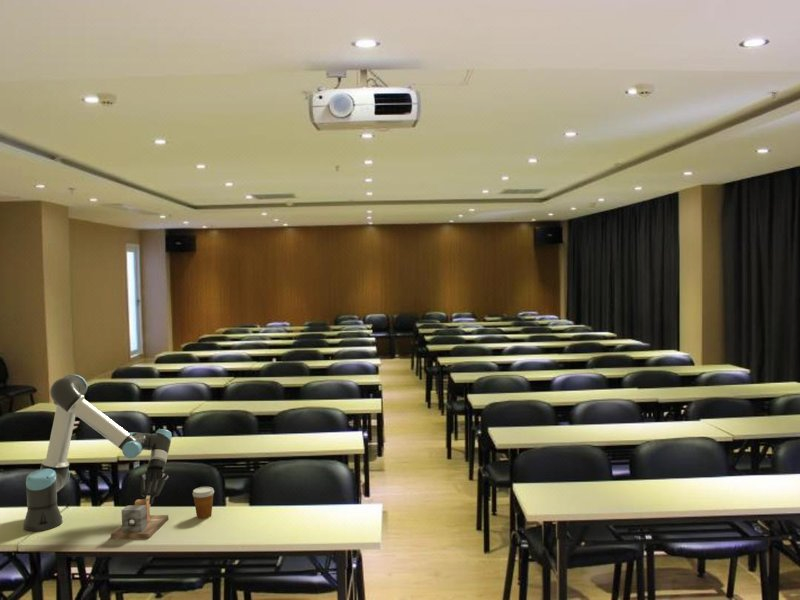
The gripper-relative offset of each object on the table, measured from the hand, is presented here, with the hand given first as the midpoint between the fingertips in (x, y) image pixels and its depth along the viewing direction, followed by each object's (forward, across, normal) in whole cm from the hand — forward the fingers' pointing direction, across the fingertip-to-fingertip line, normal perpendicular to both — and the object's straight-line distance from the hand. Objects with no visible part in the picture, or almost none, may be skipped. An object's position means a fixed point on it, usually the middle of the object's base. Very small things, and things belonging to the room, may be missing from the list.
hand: (146, 510), depth 304 cm
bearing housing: (+9, +1, 0) cm, 9 cm away
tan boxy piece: (+8, +1, +3) cm, 8 cm away
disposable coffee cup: (-1, -22, -11) cm, 25 cm away
